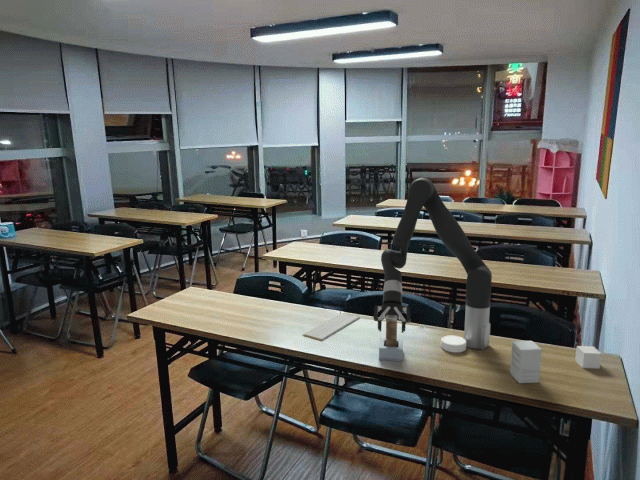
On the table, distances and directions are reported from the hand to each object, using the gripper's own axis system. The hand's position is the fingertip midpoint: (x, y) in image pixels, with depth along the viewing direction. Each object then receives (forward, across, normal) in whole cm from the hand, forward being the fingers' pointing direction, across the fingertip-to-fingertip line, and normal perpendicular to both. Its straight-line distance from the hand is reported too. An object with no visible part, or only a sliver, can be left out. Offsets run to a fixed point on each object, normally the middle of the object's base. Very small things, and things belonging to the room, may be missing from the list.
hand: (391, 331), depth 178 cm
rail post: (+6, 0, +8) cm, 10 cm away
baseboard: (-11, -28, +28) cm, 41 cm away
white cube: (+4, +72, +11) cm, 73 cm away
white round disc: (-1, +25, +17) cm, 30 cm away
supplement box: (+14, +47, +1) cm, 49 cm away
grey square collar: (+7, 0, +8) cm, 11 cm away
